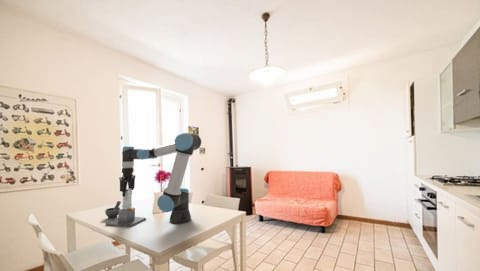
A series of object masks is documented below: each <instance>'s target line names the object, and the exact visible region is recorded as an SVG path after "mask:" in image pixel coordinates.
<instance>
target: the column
mask: <svg viewBox="0 0 480 271" xmlns="http://www.w3.org/2000/svg"><path fill="white" fill-rule="evenodd" d="M126 192H127V201H123V200H122V205H121V209H122V210H129V209H131V208H132V205H133V204H132V194H133V190H132V189H129V188H128V187H127V188H126Z"/></svg>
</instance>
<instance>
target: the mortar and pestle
mask: <svg viewBox="0 0 480 271" xmlns="http://www.w3.org/2000/svg"><path fill="white" fill-rule="evenodd" d="M121 203H122V202H121V201H120V200H118V201H116V204H115V205H114V207H109V208H107V209H105V210H104V212H105V215H106V216H107V220H110V221H112V220H115V219H118V212H119V210H120V209H121V208H120V205H121Z"/></svg>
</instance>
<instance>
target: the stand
mask: <svg viewBox="0 0 480 271" xmlns="http://www.w3.org/2000/svg"><path fill="white" fill-rule="evenodd" d="M135 215H136V208H135V207H131V209H129V210H122V208H120V210H119V212H118V215H117V218H116V219H111V220H110V221H108V222H107V221H106V222H105V226H106V227H107V226H111V227H121V228H132V227H134V226H136V225H138V224H140V223H142V222H145V221H146V220H147V217H141V216H135Z"/></svg>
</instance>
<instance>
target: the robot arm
mask: <svg viewBox="0 0 480 271" xmlns="http://www.w3.org/2000/svg"><path fill="white" fill-rule="evenodd" d="M201 146H202V139H201V137H200V135H198V134H197V133H195V134H194V133H191V132H182V133H179V134H178V135H177V136H176V137H175V139H174V142H172V143H168V144H165V145H161V146H157V147H154V148H135V146H131V145H130V146H125V145H124V146H123V147H122V151H121V154H122V155H121V157H122V158H121V163H122V164H121V167H122V168H121V173H122V176H121V177H118V179H119V192H122V194H121V196H122V202H123V201H127V192H126V189H127V188H129V189H132V191H134V189H135V184H136V183H135V181H136V180H135V179H136V175H134V167H135V166H134V165H135V162H134V161H135V160H141V161H142V160H150V159H152V160H155V159H157V158H159V157H163V156H167V155H168V156H169V155H172V154H176V155H175V159H174V162H173V166H172V169H171V173H170V176H169V179H168V184H167V187H165V188H163V192H162V194H161V195H160V196H159V197H158V198H157V200H156V201H157V202H156V204H157V207H158V209H159V210H160V211H161V212H162V213H170V212H171V213H170V216H169V222H170V223H171V224H176V223H178V224H184V222H185V223H188V222H190V221H191V220H192V215H191V212H190V208H189V206H190V204H189V202H190V200H189V198H190V196H189V195H190V193H189V192H190V191H189V189H188V188H185V187H182V183H183V181H184V177H185V173H186V169H187V166H188V162H189V159H190V157H191V156H192V155H193V154H194V151H197V150H198V149H199V148H200V147H201ZM181 187H182V188H181Z"/></svg>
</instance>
